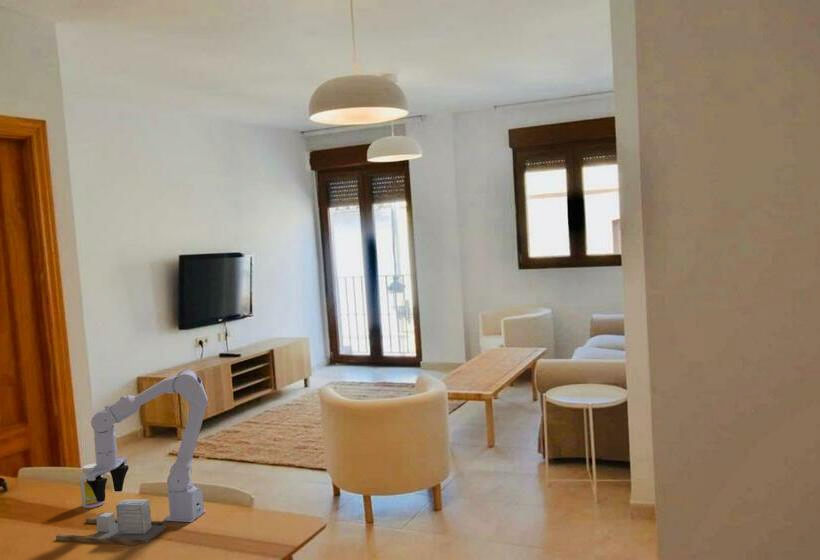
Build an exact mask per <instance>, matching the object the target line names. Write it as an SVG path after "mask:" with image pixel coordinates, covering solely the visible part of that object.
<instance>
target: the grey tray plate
mask: <svg viewBox="0 0 820 560" xmlns="http://www.w3.org/2000/svg"><path fill="white" fill-rule="evenodd" d="M95 518H96V519H97V523H96V530H97V532H96V533H94V534H92V535H91V536H92V537H107V538H123V539H137V541H138V543H144V544H145V543H148V542H149V541H150V539H151V540H152V539H154V538H155V537H157V536H158V535H159V534H161V533H162V532H163V531H165V530H167V525H163V526H158V525H152V527H151V528H150V529H149V530H148V531H147V532H146V533H145V534H118V523H115V519H116V518H115V513H114V512H103V511H102V512H101V513H99V514H97V515H96V516H95ZM164 529H165V530H164ZM161 531H162V532H161ZM160 532H161V533H160ZM157 534H158V535H157ZM154 536H155V537H154ZM153 537H154V538H153Z"/></svg>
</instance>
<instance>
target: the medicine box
mask: <svg viewBox="0 0 820 560" xmlns="http://www.w3.org/2000/svg"><path fill="white" fill-rule="evenodd" d="M115 510H116V519H117V523H118V534H145V533H146V532H147V531H148V530H149V529H150V528H151V527H152V524H151V521H152V516H151V515H152V514H151V504H150V499H149V498H133V499H128V498H126V499H123V500H121V501H120V502H119V503H117V505H116V506H115Z"/></svg>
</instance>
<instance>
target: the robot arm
mask: <svg viewBox="0 0 820 560" xmlns="http://www.w3.org/2000/svg"><path fill="white" fill-rule="evenodd" d="M202 381H203V380H202V378H201V377H200V376H199V374H197V372H196V371H194V370H192V369H188V368H187V369H184V370H181V371H180V372H179V373H173V374H172V375H169V376H168V377H165V378H163V379H162V380H161V381H158V382H157V383H155V384H154V385H152V386H150V387H149V388H147V389H145V390H143V391H142V392H140V393H139V394H137V395H130V394H128V395H122V396H120V397H119V400H117V401H115V402H114V403H112V404H110V405H109V404H107V405H105V406H104V408H102V409H100V410H98V411H96V412H95V414H94V415H93V417H92V419H91V421H90V425H91V428H92V429H93V435H94V436H93V437H94V438H93V440H94V441H93V442H94V452H95V453H94V454H95V464H96V465H95V466H94V469H93V470H92V471H91V472H90V473H88V474H87V479H86V481H87V483H88V484H89V486H90V487H91V488H92V490H93V492H94V494H95V497H96V500H97V502H103V501H106V485H107V481H108V478H107V477H103V478H102V477H101V475H103V476H104V475H106V474H107V473H110V476H111V480H112V485H113V491H114V492H120V493H121V492H122V491H123V487H124V483H125V480H126V479H125V478H126V475H127V473H128V470H129V465H128V464H127V457H124V456H121V457H119V458H118V448H117V435H116V430H115V429H116V427H115V424H119V423H122V421H125V420H126V419H128V418H130V417H131V416H133V415H135V414H137V413H138V412H139V411H140V409H141V406H142V405H144V404H146V403H148V402H150V401H152V400H154V399H156V398H158V397H160V396H162V395H164V394H170V395H171V394H172V395H174V394H175V393H178V395H180V396H182V397H183V398H185V400H186V401H187V402H188V403H189V405H190V409H189V413H188V416H187V419H186V423H185V427H184V431H183V434H182V438H181V442H180V445H179V449H178V452H177V457H176V458H175V462H174V464H173V465H171V468H170V470H169V475H168V476H167V481H166V482H167V493H168V507H169V509H168V510H169V515H167V516H165V518H164V519H163V522H164V521H165V522H181V523H182V522H183V523H192V522H194V521H195V520H196V519H198V518H200V516H201V515H203V514H204V513H206V510H205V507H204V493H203V490H202V489H201V488H200V487H196V486H195V485H194V482H193V481H192V480H191V476H192V471H193V470H192V462H193V456H194V454H195V451H196V450H195V449H196V446H197V442H198V438H199V435H200V431H201V429H202V425H203V420H204V417H205V413H206V411H207V407H208V401H209V400H208V399H209V398H208V396H207V393H206V390H205V387H204V385H203V382H202Z"/></svg>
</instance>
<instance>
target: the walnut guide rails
mask: <svg viewBox="0 0 820 560" xmlns="http://www.w3.org/2000/svg"><path fill="white" fill-rule="evenodd" d="M85 523H86V524H97V519H96V517H90V516H89V517H86V518H85ZM115 523H117V518H115ZM151 524H152V525H158V526H164V521H160V520H151ZM55 541H65V542H79V543H80V542H81V543H94V544H95V543H96V544H110V545H123V546H124V545H127V546H136V545H138V543H139V542H138V541H137V539H123V538H107V537H92V535H91V536H87V535H75V534H73V535H71V534H57V535H56V536H55Z"/></svg>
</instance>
